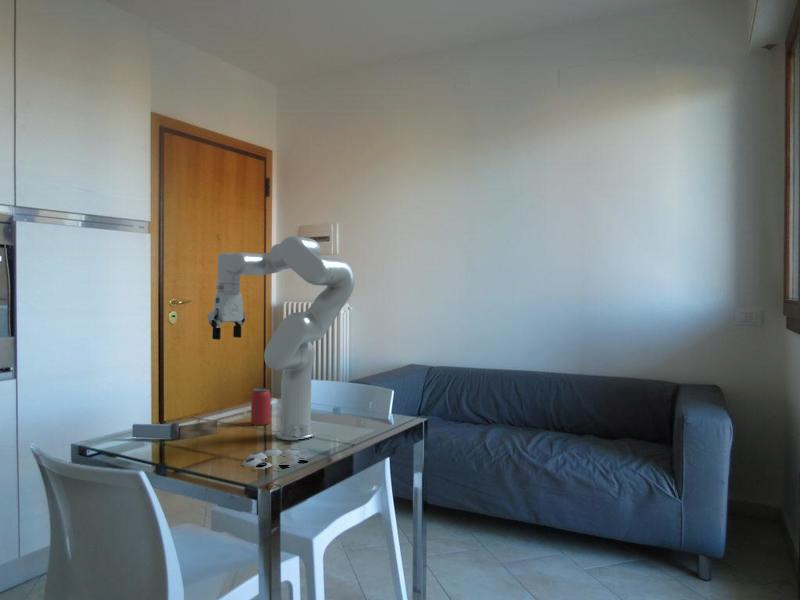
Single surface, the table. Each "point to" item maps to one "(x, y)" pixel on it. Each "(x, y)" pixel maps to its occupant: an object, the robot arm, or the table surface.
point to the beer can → (260, 406)
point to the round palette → (257, 457)
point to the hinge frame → (193, 430)
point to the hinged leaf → (151, 431)
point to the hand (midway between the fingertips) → (227, 338)
